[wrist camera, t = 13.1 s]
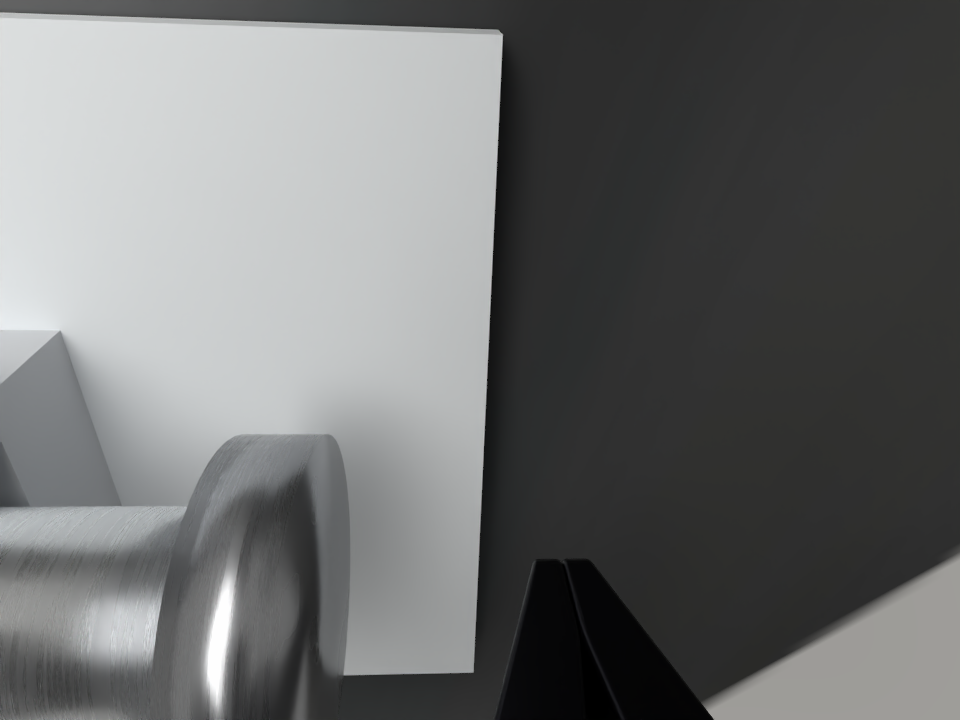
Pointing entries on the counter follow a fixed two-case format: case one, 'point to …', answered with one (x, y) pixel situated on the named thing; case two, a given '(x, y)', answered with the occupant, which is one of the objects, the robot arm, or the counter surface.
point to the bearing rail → (257, 281)
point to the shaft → (185, 596)
